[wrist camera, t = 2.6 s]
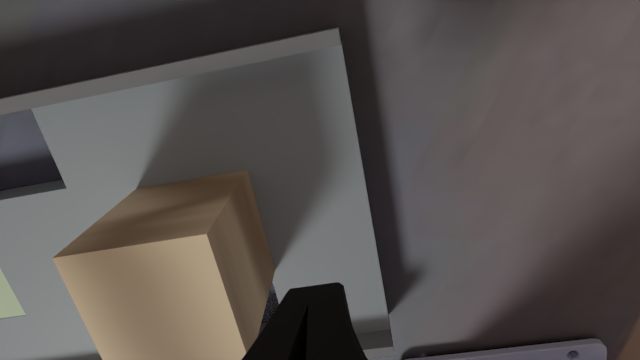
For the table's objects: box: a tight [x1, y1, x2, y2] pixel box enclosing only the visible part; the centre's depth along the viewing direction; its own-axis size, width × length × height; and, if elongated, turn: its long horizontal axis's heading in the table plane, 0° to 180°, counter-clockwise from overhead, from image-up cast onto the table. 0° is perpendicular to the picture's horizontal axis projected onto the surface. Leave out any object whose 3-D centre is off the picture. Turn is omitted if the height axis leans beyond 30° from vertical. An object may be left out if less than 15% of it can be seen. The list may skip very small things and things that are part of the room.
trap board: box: [0, 27, 395, 360], centre depth 17 cm, size 22×13×4 cm, turn 101°
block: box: [52, 169, 275, 360], centre depth 14 cm, size 4×4×5 cm
